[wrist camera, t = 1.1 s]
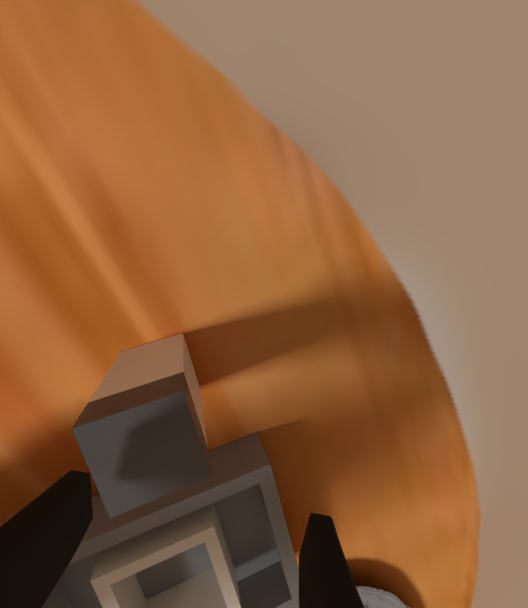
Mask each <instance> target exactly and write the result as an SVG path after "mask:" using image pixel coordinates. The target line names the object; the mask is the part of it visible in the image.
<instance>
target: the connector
mask: <svg viewBox="0 0 528 608" xmlns="http://www.w3.org/2000/svg"><path fill="white" fill-rule="evenodd" d="M72 431H73V433H74V435H75V438H76V440H77V442H78V445H79V447H80V449H81V452H82V454H83V456H84V459H85V461H86V463H87V466H88V468H89V470H90V473H91V475H92V478H93V480H94V482H95V485H96V487H97V489H98V492H99V494H100V496H101V499H102V501H103V503H104V506H105V508H106V510H107V513H108V515H109V517H110V518H113V517H115V516H118V515H120V514H122V513H125V512H127V511H130V510H132V509H135V508H137V507H140V506H142V505H144V504H147V503H149V502H152V501H154V500H157V499H159V498H162V497H164V496H167V495H169V494H171V493H174V492H176V491H179V490H181V489H184V488H186V487H189V486H191V485H194V484H196V483H198V482H201V481H203V480H206V479H208V478H211V477H212V475H211V468H210V460H209V453H208V446H207V438H206V431H205V424H204V416H203V409H202V401H201V394H200V387H199V383H198V380H197V377H196V374H195V370H194V367H193V364H192V361H191V357H190V354H189V351H188V348H187V345H186V341H185V338H184V335H183V333H182V334H179V335H175V336H172V337H169V338H165V339H162V340H159V341H155V342H152V343H148V344H145V345H142V346H138V347H135V348H132V349H128V350H125V351H121V352H120V354H119V355H118V357H117V358H116V360H115V362H114V363H113V365H112V366H111V368H110V369H109V371H108V373H107V374H106V376H105V377H104V379H103V380H102V382H101V384H100V385H99V387H98V388H97V390H96V391H95V393H94V395H93V396H92V398H91V399H90V401H89V402H88V404H87V406H86V407H85V409H84V410H83V412H82V413H81V415H80V416H79V418H78V420H77V421H76V423H75V424H74V426H73V427H72Z"/></svg>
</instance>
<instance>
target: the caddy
mask: <svg viewBox="0 0 528 608" xmlns="http://www.w3.org/2000/svg"><path fill="white" fill-rule="evenodd" d="M208 453H209V460H210V468H211V475H212V477H211V478H208V479H206V480H203V481H201V482H198V483H196V484H194V485H191V486H189V487H186V488H184V489H181V490H179V491H176V492H174V493H171V494H169V495H167V496H164V497H162V498H159V499H157V500H154V501H152V502H149V503H147V504H144V505H142V506H140V507H137V508H135V509H132V510H130V511H127V512H125V513H122V514H120V515H118V516H115V517H113V518H110V517H109V515H108V513H107V510H106V508H105V506H104V503H103V501H102V499H101V496H100V494H97V495H95V496H92V508H93V519H92V521H91V523H90V525H89V527H88V529H87V531H86V533H85V535H84V537H83V539H82V541H81V543H80V545H79V547H78V549H77V551H76V553H75V555H74V556H73V558H72V560H71V561H70V563H69V565H68V566H67V568H66V569H65V571H64V573H63V574H62V576H61V577H60V579H59V581H58V582H57V584H56V585H55V587H54V589H53V590H52V592H51V593H50V595H49V597H48V598H47V600H46V601H45V603H44V605H43V606H42V608H298V607H299V568H298V565H297V561H296V557H295V553H294V550H293V546H292V542H291V539H290V535H289V531H288V527H287V524H286V520H285V516H284V513H283V509H282V505H281V501H280V498H279V494H278V490H277V487H276V483H275V479H274V475H273V472H272V468H271V464H270V462H269V460H268V457H267V455H266V453H265V450H264V448H263V446H262V443H261V441H260V438H259V436H258V434H257V433H254V434H252V435H249V436H247V437H244V438H242V439H239V440H236V441H234V442H231V443H229V444H226V445H224V446H221V447H218V448H216V449H213V450H211V451H208Z"/></svg>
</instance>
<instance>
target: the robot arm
mask: <svg viewBox="0 0 528 608" xmlns="http://www.w3.org/2000/svg"><path fill="white" fill-rule="evenodd" d="M92 519H93V508H92V496H91V483H90V473H84V472H79V471H73V470H71V471H70V472H68V473H67V474H66V475H64V476H63V477H62V478H61V479H59V480H58V481H57V482H56V483H55V484H53V485H52V486H51V487H50V488H48V489H47V490H46V491H45V492H43V493H42V494H41V495H40V496H38V497H37V498H36V499H35V500H33V501H32V502H31V503H30V504H28V505H27V506H26V507H25V508H23V509H22V510H21V511H20V512H18V513H17V514H16V515H15V516H13V517H12V518H11V519H9V520H8V521H7V522H6V523H4V524H3V525H2V526H0V608H42V606H43V605H44V603H45V601H46V600H47V598H48V597H49V595H50V593H51V592H52V590H53V589H54V587H55V585H56V584H57V582H58V581H59V579H60V577H61V576H62V574H63V573H64V571H65V569H66V568H67V566H68V565H69V563H70V561H71V560H72V558H73V556H74V555H75V553H76V551H77V549H78V547H79V545H80V543H81V541H82V539H83V537H84V535H85V533H86V531H87V529H88V527H89V525H90V523H91V521H92ZM299 608H364V605H363V603H362V600H361V598H360V596H359V593H358V591H357V588H356V586H355V583H354V580H353V578H352V575H351V573H350V570H349V567H348V564H347V562H346V559H345V556H344V553H343V550H342V548H341V545H340V542H339V539H338V536H337V533H336V529H335V526H334V523H333V520H332V518H331V517H330V516H325V515H320V514H314V513H311V514H310V517H309V521H308V525H307V528H306V532H305V536H304V539H303V543H302V547H301V551H300V554H299Z"/></svg>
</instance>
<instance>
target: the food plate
mask: <svg viewBox="0 0 528 608" xmlns="http://www.w3.org/2000/svg"><path fill="white" fill-rule="evenodd" d="M356 588H357V591H358V593H359V596H360V598H361V600H362V603H363V605H364V608H409V606H408V605H407V606H406V605H404V603H403V602H402V601H400V599H398V598H397V596H396V595H394V594H391V593H390V592H385V591H383V590H382V589H381V590H380V589H375V588H372V587H371V586H368V587H365V585H363V586H356ZM298 608H299V607H298Z"/></svg>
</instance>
